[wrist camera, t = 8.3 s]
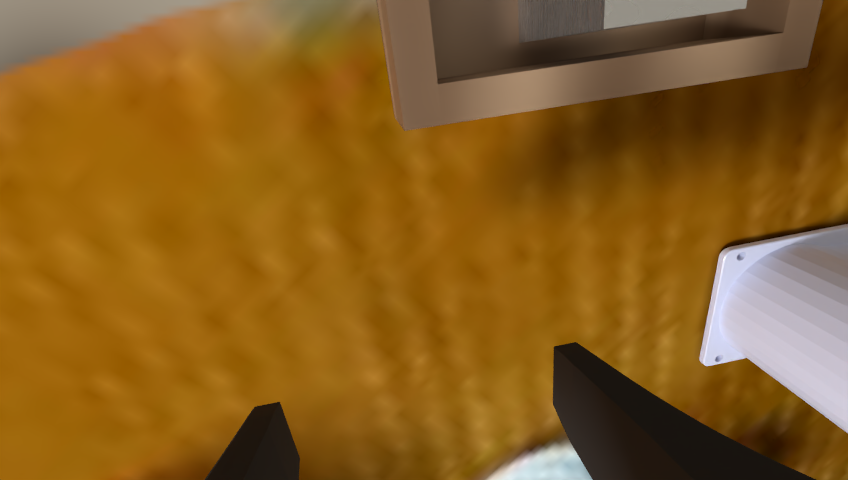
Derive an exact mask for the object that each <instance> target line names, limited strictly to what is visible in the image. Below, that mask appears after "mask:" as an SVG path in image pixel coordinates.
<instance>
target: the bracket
mask: <svg viewBox="0 0 848 480" xmlns="http://www.w3.org/2000/svg"><path fill="white" fill-rule="evenodd" d="M746 5H747V0H518V23H519V43H522V42H529V41H535V40H542V39H549V38H556V37H563V36H570V35H576V34H583V33H590V32H597V31H604V30H610V29H617V28H623V27H630V26H636V25H643V24H649V23H655V22H662V21H668V20H674V19H681V18H687V17H694V16H700V15H706V14H713V13H719V12H725V11H732V10H738V9H745V8H746Z"/></svg>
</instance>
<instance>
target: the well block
mask: <svg viewBox="0 0 848 480" xmlns="http://www.w3.org/2000/svg"><path fill="white" fill-rule="evenodd" d="M822 3H823V0H747V5H746V8H745V9H738V10H732V11H725V12H719V13H713V14H706V15H700V16H694V17H687V18H681V19H674V20H668V21H662V22H655V23H649V24H643V25H636V26H630V27H623V28H617V29H610V30H604V31H597V32H590V33H583V34H576V35H570V36H563V37H556V38H549V39H542V40H535V41H529V42H522V43H519V23H518V0H377V5H378V12H379V18H380V25H381V31H382V38H383V44H384V51H385V57H386V64H387V70H388V77H389V83H390V89H391V96H392V102H393V109H394V115H395V118H396V120H397V121H398V122H399V124H400V125H401V126H402V128H403V129H404V131H406V130H412V129H419V128H425V127H432V126H438V125H444V124H451V123H457V122H463V121H470V120H476V119H482V118H489V117H495V116H501V115H508V114H514V113H520V112H527V111H533V110H540V109H546V108H552V107H559V106H565V105H571V104H578V103H584V102H590V101H597V100H603V99H609V98H616V97H622V96H628V95H635V94H641V93H648V92H654V91H660V90H667V89H673V88H679V87H686V86H692V85H698V84H705V83H711V82H717V81H724V80H730V79H736V78H743V77H749V76H756V75H762V74H768V73H775V72H781V71H787V70H794V69H800V68H806V67H807V65H808V61H809V57H810V53H811V48H812V44H813V40H814V36H815V32H816V28H817V24H818V19H819V15H820V11H821V7H822Z"/></svg>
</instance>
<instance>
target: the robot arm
mask: <svg viewBox="0 0 848 480" xmlns="http://www.w3.org/2000/svg"><path fill="white" fill-rule="evenodd" d="M738 254H739V255H738ZM743 358H748V359H749V360H750V361H752V362H753V363H754V364H756V365H757V366H758V367H760V368H761V369H762V370H764V371H765V372H766V373H768V374H769V375H771V376H772V377H773V378H775V379H776V380H777V381H779V382H780V383H781V384H783V385H784V386H785V387H787V388H788V389H789V390H791V391H792V392H793V393H795V394H796V395H797V396H799V397H800V398H801V399H803V400H804V401H805V402H807V403H808V404H809V405H811V406H812V407H813V408H815V409H816V410H817V411H819V412H820V413H821V414H823V415H824V416H825V417H827V418H828V419H829V420H831V421H832V422H833V423H835V424H836V425H838V426H839V427H840V428H842V429H843V430H844V431H846V432H847V433H848V224H845V225H839V226H834V227H829V228H824V229H819V230H814V231H809V232H803V233H798V234H793V235H788V236H783V237H778V238H773V239H768V240H762V241H757V242H752V243H747V244H742V245H737V246H732V247H728V248H725V249H724V250H723V251H722V252H721V253H720V255H719V259H718V264H717V269H716V275H715V280H714V285H713V290H712V295H711V301H710V306H709V311H708V316H707V321H706V326H705V332H704V337H703V342H702V347H701V352H700V358H699V359H700V362H701V363H703V364H704V365H705V366H712V365H716V364H721V363H725V362H730V361H734V360H739V359H743ZM553 405H554V407H555V409H556V412H557V414H558V416H559V418H560V421H561V423H562V425H563V427H564V429H565V432H566V434H567V436H568V438H569V440H570V442H571V444H572V445H573V447H574V449H575V451H576V452H577V454H578V456H579V457H580V459H581V461H582V462H583V464H584V466H585V467H586V469H587V471H588V472H589V474H590V476H591V477H592V479H593V480H816V479H813V478H811V477H809V476H807V475H805V474H802V473H800V472H798V471H796V470H794V469H791V468H789V467H787V466H785V465H782V464H780V463H778V462H776V461H774V460H772V459H770V458H768V457H766V456H763V455H761V454H759V453H757V452H755V451H753V450H751V449H749V448H748V447H746V446H744V445H742V444H740V443H738V442H736V441H734V440H732V439H730V438H728V437H726V436H724V435H722V434H720V433H719V432H717V431H715V430H713V429H711V428H709V427H708V426H706V425H704V424H702V423H700V422H699V421H697V420H695V419H694V418H692V417H690V416H688V415H687V414H685V413H683V412H682V411H680V410H678V409H677V408H675V407H673V406H671V405H670V404H668V403H667V402H665V401H663V400H662V399H660V398H658V397H657V396H655V395H654V394H652V393H651V392H649V391H647V390H646V389H644V388H643V387H641V386H640V385H638V384H637V383H635V382H634V381H632V380H631V379H629V378H628V377H626V376H625V375H623V374H622V373H620V372H619V371H617V370H616V369H614V368H613V367H611V366H610V365H608V364H607V363H606V362H604V361H603V360H601V359H600V358H598V357H597V356H595V355H594V354H592V353H591V352H590V351H588V350H587V349H585V348H584V347H582V346H581V345H579V344H578V343H576V342H574V343H570V344H565V345H560V346H555V347H554V374H553ZM299 463H300V457H299V455H298V452H297V449H296V446H295V443H294V441H293V438H292V435H291V432H290V429H289V427H288V424H287V421H286V418H285V416H284V413H283V410H282V407H281V404H280V402H277V403H272V404H267V405H262V406H257V407H254V409H253V410H252V411H251V413H250V414H249V416H248V417H247V419H246V420H245V422H244V423H243V425H242V426H241V428H240V429H239V431H238V432H237V434H236V435H235V436H234V438H233V439H232V441H231V442H230V444H229V445H228V447H227V448H226V450H225V451H224V453H223V454H222V456H221V457H220V459H219V460H218V462H217V463H216V464H215V466H214V467H213V469H212V470H211V471H210V473H209V474H208V476H207V477H206V478H205V480H299Z"/></svg>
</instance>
